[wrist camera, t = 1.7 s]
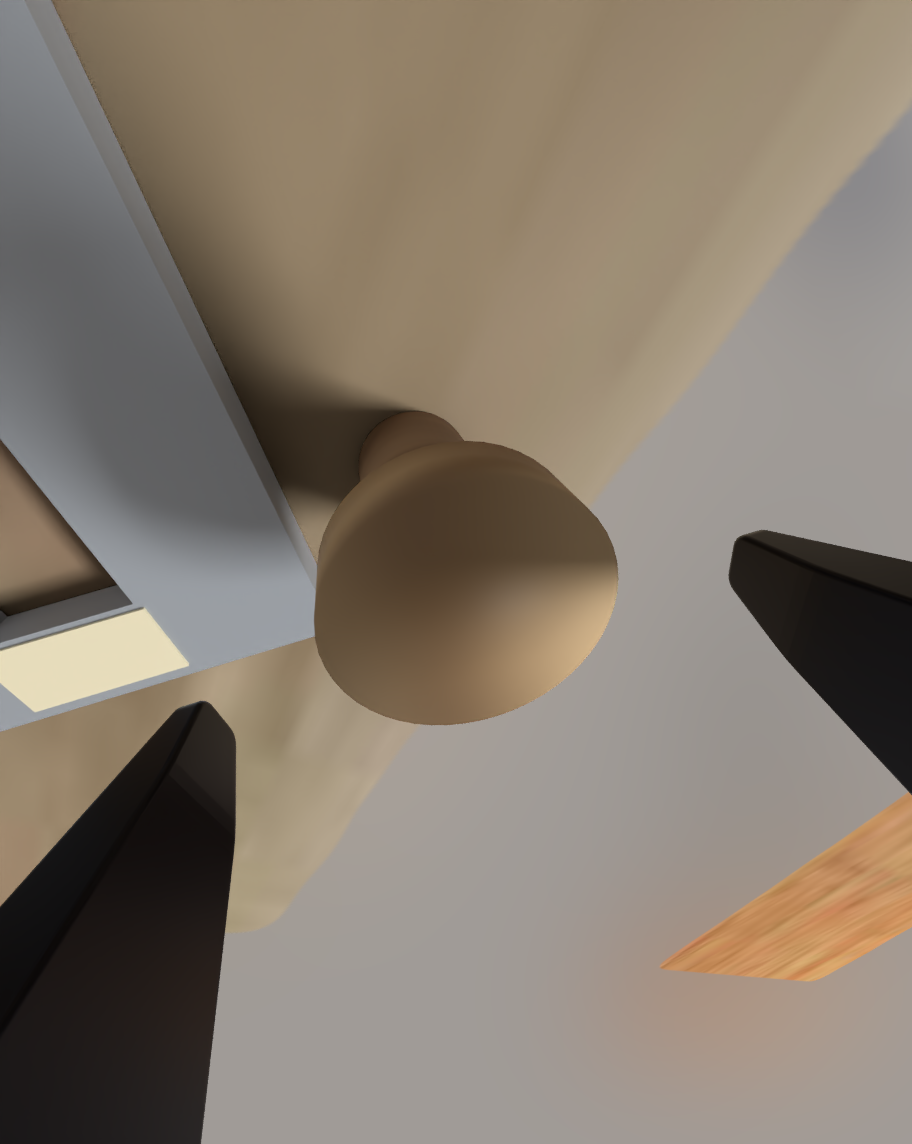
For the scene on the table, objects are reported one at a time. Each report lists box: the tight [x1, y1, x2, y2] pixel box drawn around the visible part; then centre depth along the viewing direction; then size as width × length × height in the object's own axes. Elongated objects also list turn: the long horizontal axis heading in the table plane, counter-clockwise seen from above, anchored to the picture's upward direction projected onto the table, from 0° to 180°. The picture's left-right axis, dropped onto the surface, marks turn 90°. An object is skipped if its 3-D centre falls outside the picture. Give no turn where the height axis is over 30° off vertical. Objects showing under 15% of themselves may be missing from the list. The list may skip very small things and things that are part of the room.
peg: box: [314, 411, 618, 725], centre depth 11 cm, size 5×5×8 cm
